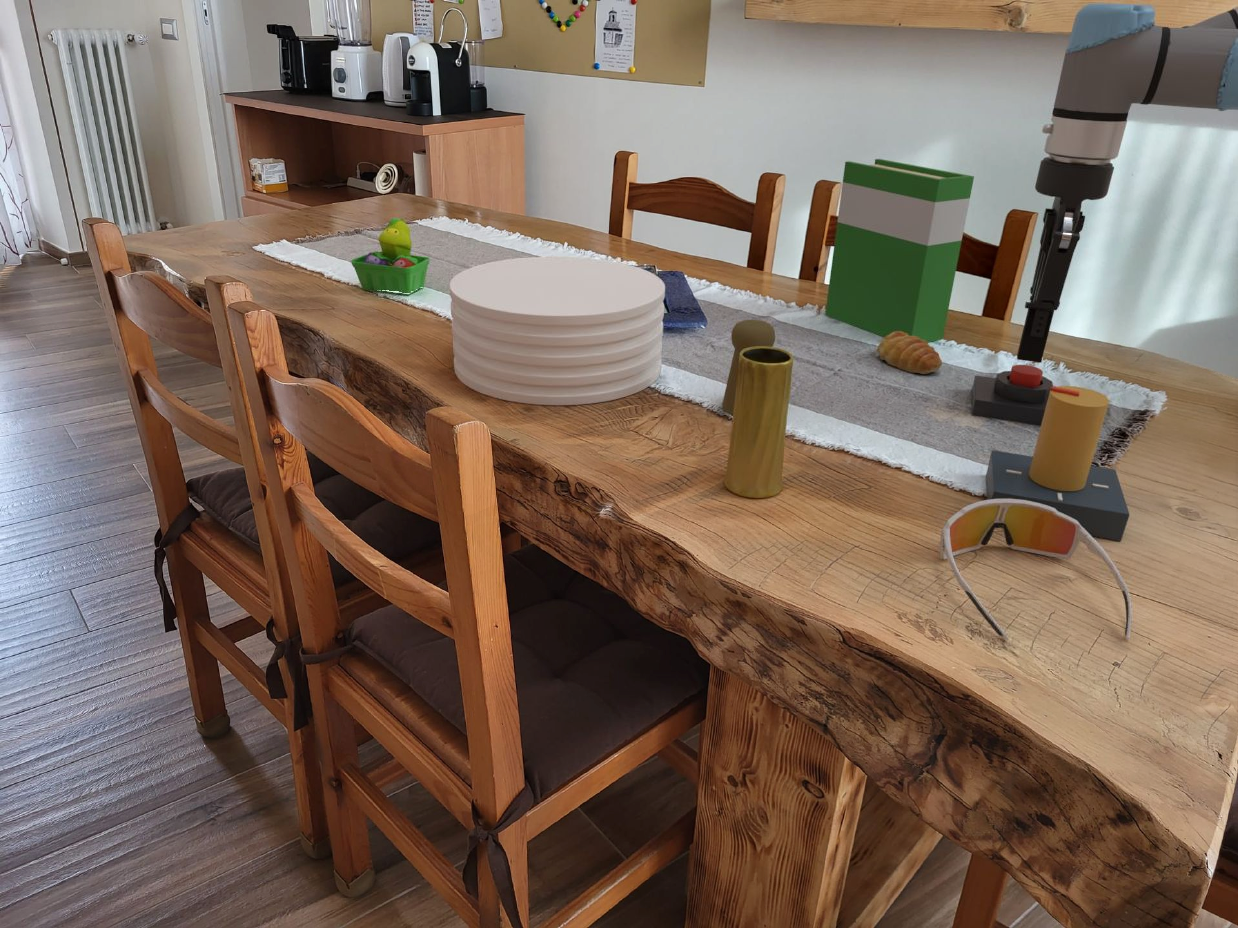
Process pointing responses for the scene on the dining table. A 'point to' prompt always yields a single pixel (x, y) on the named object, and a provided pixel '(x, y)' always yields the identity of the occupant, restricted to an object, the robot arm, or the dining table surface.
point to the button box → (1009, 399)
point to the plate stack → (557, 329)
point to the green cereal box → (897, 247)
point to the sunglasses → (1020, 539)
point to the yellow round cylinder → (1068, 438)
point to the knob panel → (1063, 494)
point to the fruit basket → (392, 263)
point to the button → (1025, 375)
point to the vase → (759, 422)
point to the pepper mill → (744, 337)
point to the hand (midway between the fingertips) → (1028, 359)
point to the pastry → (909, 353)
